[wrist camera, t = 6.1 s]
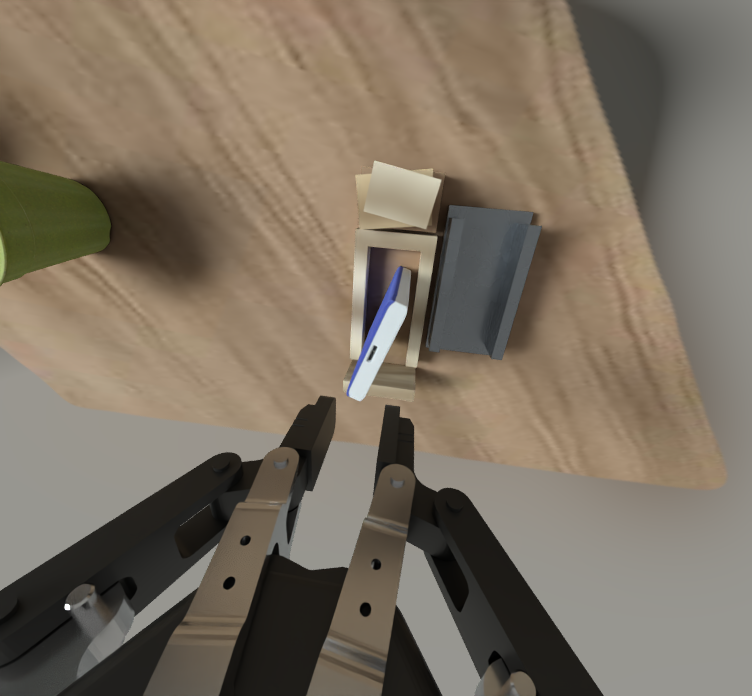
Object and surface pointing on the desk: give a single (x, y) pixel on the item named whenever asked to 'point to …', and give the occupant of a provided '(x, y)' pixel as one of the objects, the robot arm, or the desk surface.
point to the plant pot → (46, 221)
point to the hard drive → (381, 334)
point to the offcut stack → (398, 198)
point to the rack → (401, 378)
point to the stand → (480, 279)
